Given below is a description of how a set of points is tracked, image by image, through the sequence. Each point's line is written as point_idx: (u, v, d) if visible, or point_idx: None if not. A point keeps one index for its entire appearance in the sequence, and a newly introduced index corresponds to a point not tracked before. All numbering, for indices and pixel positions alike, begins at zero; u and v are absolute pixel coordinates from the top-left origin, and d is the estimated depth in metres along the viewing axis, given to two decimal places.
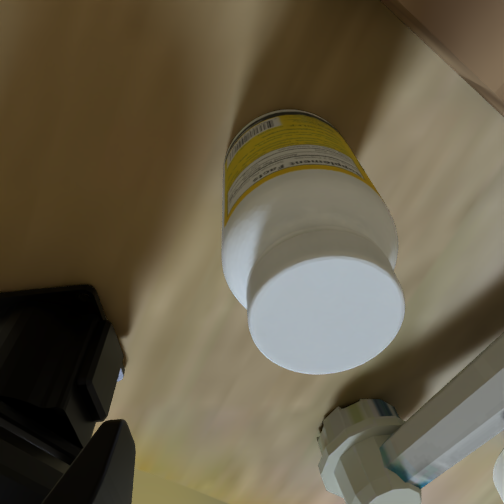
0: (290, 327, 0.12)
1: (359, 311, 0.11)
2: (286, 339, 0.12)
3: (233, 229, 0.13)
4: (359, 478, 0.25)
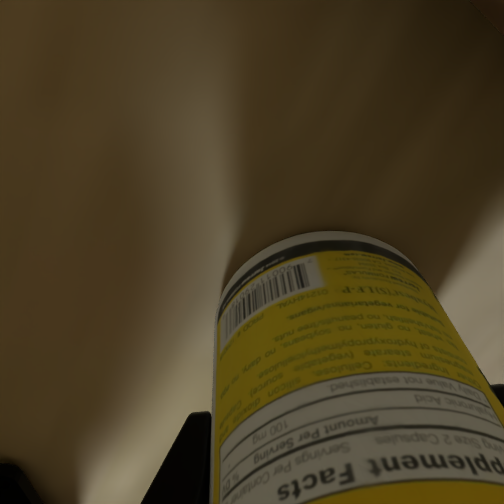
0: None
1: None
2: None
3: None
4: None
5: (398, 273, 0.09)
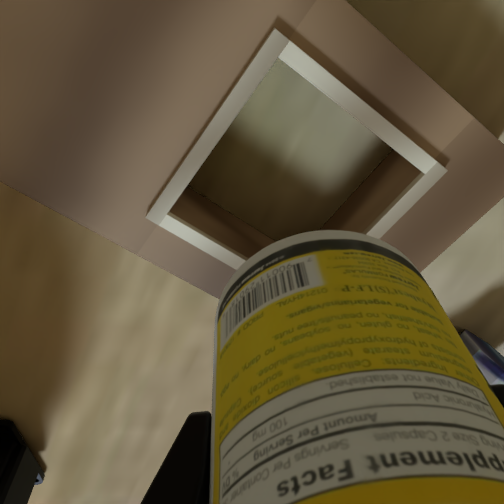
0: None
1: None
2: None
3: None
4: None
5: (397, 272, 0.09)
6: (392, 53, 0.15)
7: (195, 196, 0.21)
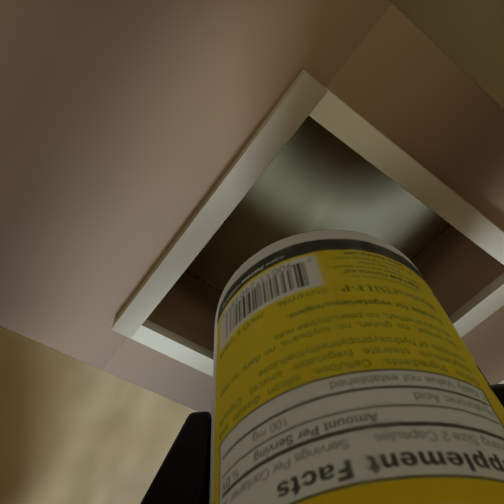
0: None
1: None
2: None
3: None
4: None
5: (397, 272, 0.09)
6: (484, 108, 0.10)
7: (185, 280, 0.15)
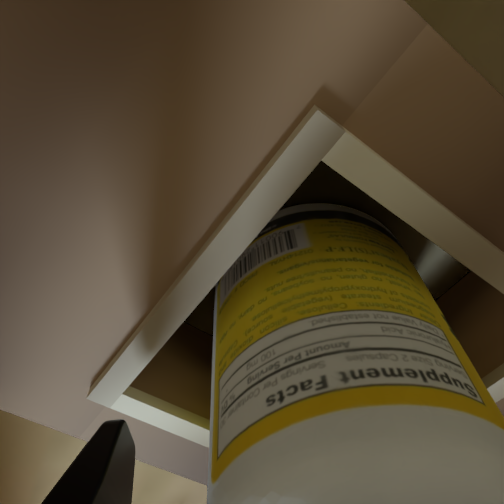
0: None
1: None
2: None
3: None
4: None
5: (376, 238, 0.10)
6: None
7: None
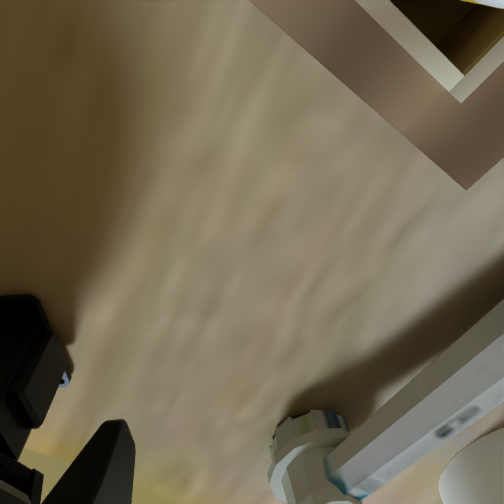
0: None
1: None
2: None
3: None
4: (301, 489, 0.26)
5: None
6: None
7: None
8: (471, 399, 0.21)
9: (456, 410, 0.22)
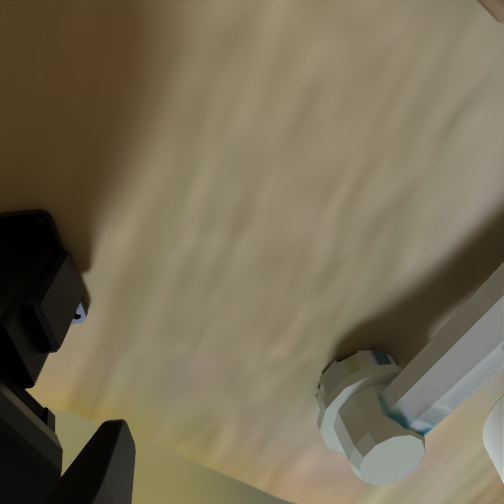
0: None
1: None
2: None
3: None
4: (357, 429, 0.23)
5: None
6: None
7: None
8: None
9: None
